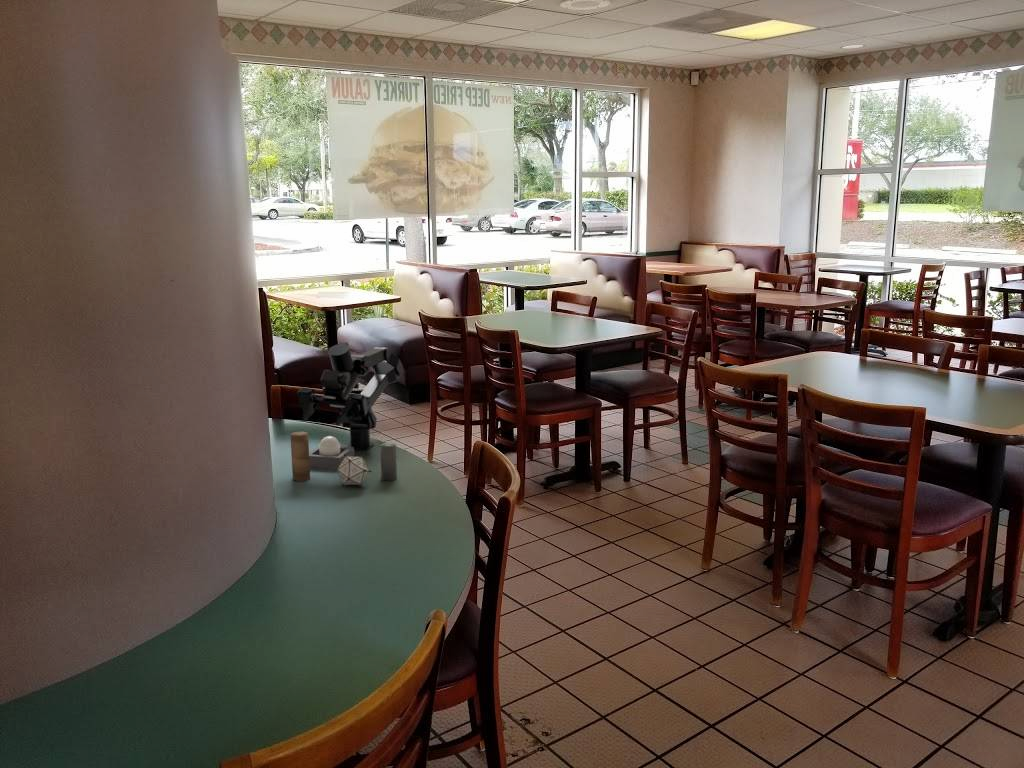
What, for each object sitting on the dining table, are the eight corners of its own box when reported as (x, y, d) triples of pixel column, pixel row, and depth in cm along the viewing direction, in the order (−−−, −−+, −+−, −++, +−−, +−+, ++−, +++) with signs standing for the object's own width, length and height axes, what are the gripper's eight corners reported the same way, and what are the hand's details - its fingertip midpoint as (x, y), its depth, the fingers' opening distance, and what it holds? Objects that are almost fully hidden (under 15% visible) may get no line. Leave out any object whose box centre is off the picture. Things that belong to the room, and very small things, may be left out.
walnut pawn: (297, 475, 217) (294, 431, 215) (313, 476, 216) (310, 432, 214) (289, 480, 213) (287, 435, 210) (305, 482, 212) (303, 437, 210)
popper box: (320, 455, 233) (319, 444, 233) (354, 458, 232) (353, 447, 231) (305, 466, 224) (304, 455, 223) (340, 469, 222) (339, 457, 221)
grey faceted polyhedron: (346, 498, 211) (328, 464, 213) (376, 483, 214) (358, 449, 216) (346, 492, 203) (328, 457, 204) (378, 476, 206) (359, 441, 207)
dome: (324, 453, 231) (323, 433, 229) (343, 454, 230) (342, 434, 228) (316, 459, 225) (315, 438, 224) (335, 460, 224) (334, 440, 223)
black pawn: (384, 475, 218) (383, 442, 216) (398, 476, 217) (398, 443, 215) (379, 480, 214) (378, 446, 212) (393, 481, 213) (393, 447, 211)
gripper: (305, 358, 224) (280, 393, 212) (370, 365, 221) (348, 401, 209) (313, 390, 231) (289, 426, 219) (376, 398, 228) (355, 435, 216)
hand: (320, 421), depth 215 cm, fingers open, 9 cm apart
